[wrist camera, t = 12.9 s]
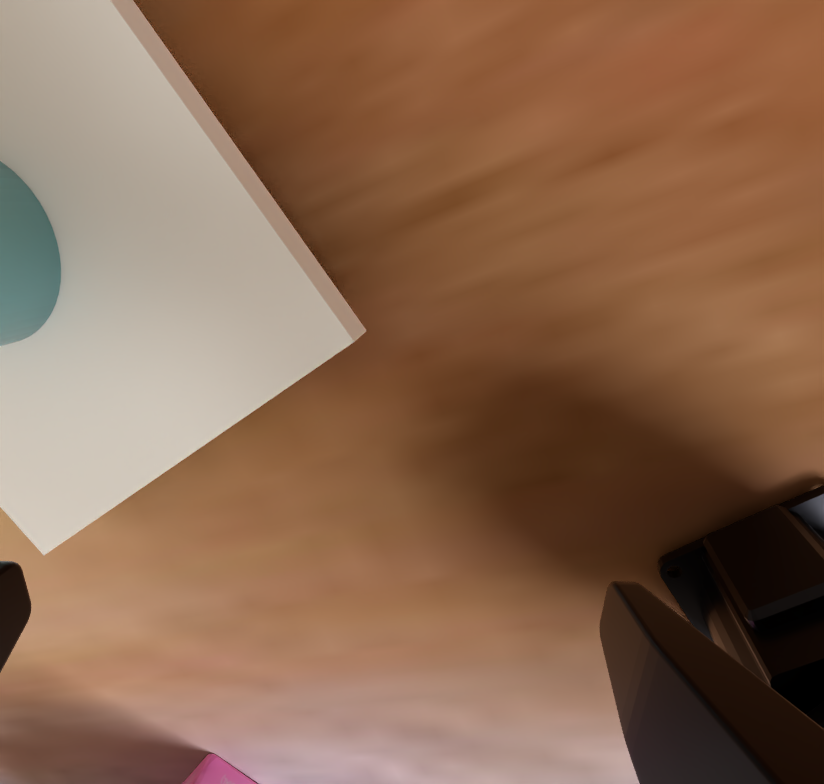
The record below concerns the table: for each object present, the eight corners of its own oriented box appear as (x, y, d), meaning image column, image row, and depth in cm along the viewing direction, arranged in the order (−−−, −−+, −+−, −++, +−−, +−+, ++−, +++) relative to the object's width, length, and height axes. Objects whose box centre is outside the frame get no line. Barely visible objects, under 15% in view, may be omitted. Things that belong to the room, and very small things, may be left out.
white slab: (380, 318, 20) (354, 341, 16) (107, 508, 24) (43, 555, 21) (28, -186, 17) (-92, -282, 13) (-207, 141, 21) (-338, 130, 18)
